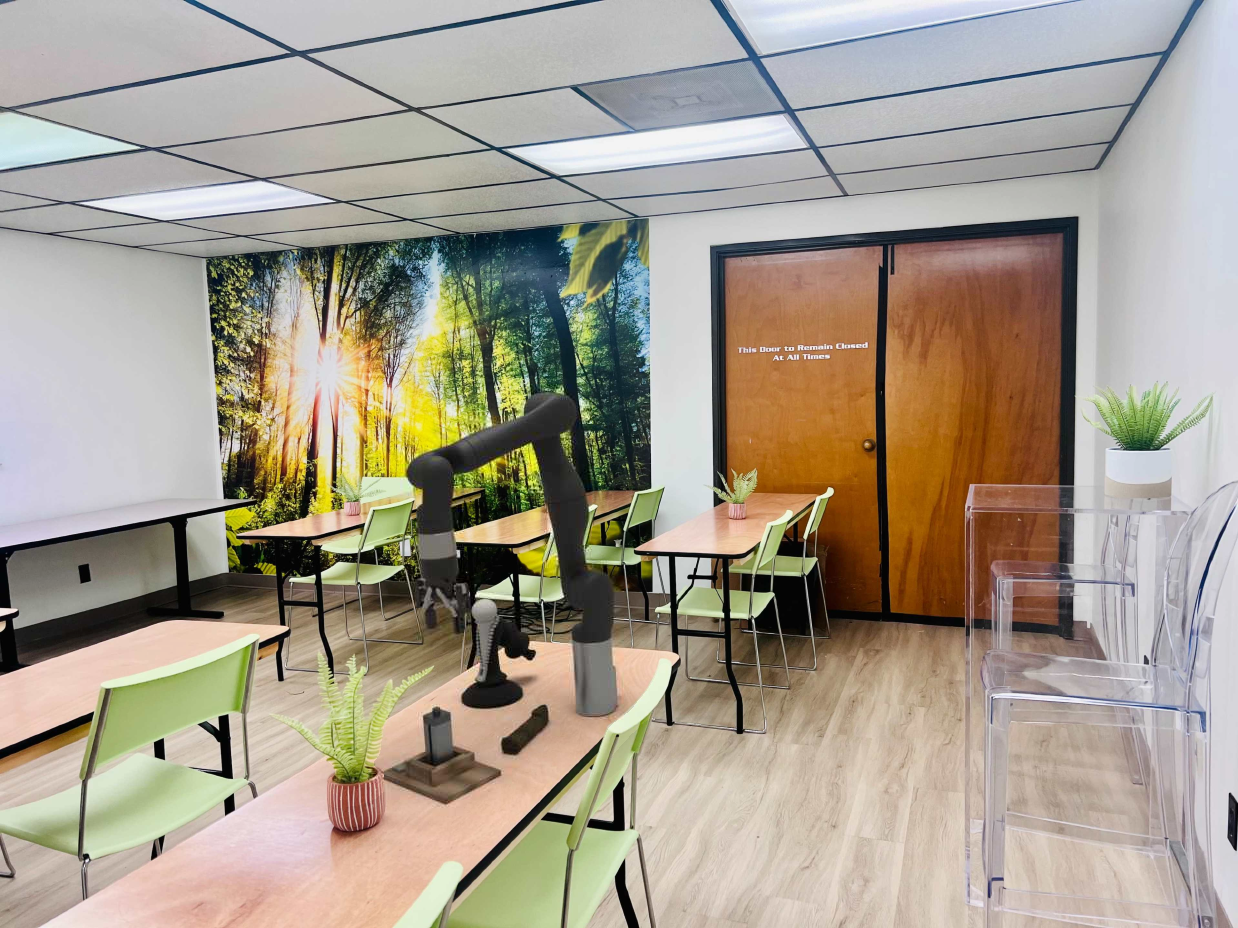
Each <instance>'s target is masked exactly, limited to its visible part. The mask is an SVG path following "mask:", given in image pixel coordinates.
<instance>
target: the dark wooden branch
mask: <svg viewBox="0 0 1238 928" xmlns="http://www.w3.org/2000/svg"><path fill="white" fill-rule="evenodd" d="M549 717H550V716H549V708H548V705H546V704H544V703H543V704H540V705H538V706H537V707H536V708H534V709H533V710H532V711H531V716H530V717H528V719H526V721H524V722H523V723H521V724H520V725H519V726H518V727H517V728H516V729H514V731H512V732H510V734H508V736H505V737H502V739H501V742H500V747H501V751H502V752H503V754H507V755H516V754H518V752H520V751H521V748H522V746H523V745H525V744H526V743H527V741H530V739H532V737H534V736H535V734H536V733H538V731H543V730H544V729H545V727H547V725H548V723H549Z"/></svg>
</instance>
